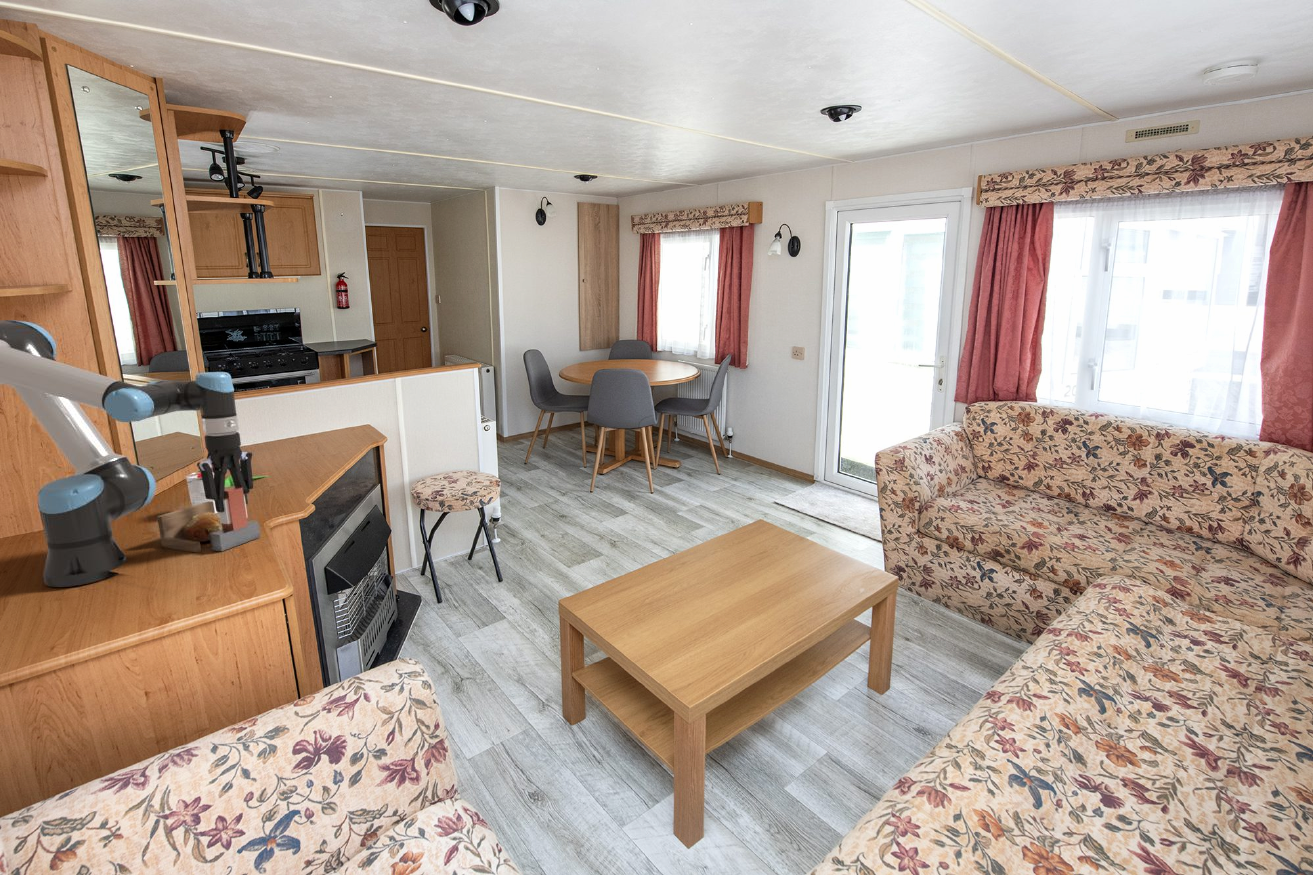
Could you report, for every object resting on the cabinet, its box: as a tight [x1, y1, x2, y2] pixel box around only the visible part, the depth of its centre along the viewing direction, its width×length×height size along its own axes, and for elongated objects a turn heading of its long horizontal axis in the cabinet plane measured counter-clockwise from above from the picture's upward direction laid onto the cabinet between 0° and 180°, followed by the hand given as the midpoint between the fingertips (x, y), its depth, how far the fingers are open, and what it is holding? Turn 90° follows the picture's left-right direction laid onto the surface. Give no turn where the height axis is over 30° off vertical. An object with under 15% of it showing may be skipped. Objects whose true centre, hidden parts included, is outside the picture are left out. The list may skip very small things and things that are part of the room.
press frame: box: [156, 501, 215, 553], centre depth 172 cm, size 15×14×8 cm
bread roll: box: [184, 512, 222, 543], centre depth 172 cm, size 10×10×8 cm
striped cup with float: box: [184, 470, 219, 514], centre depth 194 cm, size 10×8×12 cm
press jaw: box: [209, 486, 261, 552], centre depth 167 cm, size 11×4×15 cm, turn 161°
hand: (234, 520), depth 168 cm, fingers closed on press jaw, 4 cm apart
